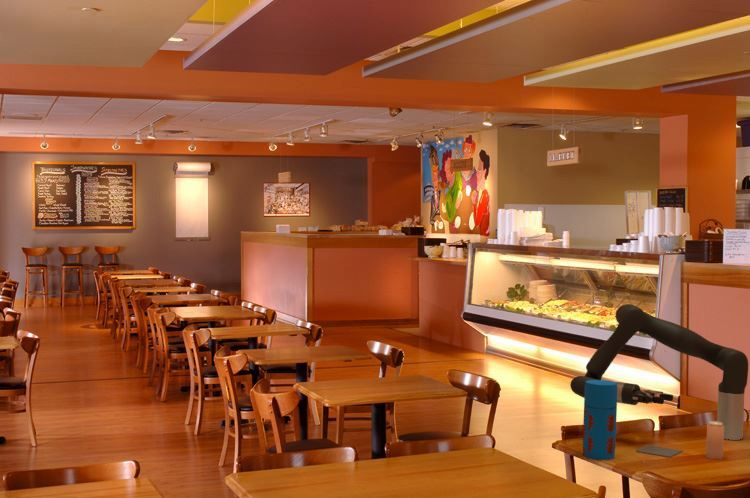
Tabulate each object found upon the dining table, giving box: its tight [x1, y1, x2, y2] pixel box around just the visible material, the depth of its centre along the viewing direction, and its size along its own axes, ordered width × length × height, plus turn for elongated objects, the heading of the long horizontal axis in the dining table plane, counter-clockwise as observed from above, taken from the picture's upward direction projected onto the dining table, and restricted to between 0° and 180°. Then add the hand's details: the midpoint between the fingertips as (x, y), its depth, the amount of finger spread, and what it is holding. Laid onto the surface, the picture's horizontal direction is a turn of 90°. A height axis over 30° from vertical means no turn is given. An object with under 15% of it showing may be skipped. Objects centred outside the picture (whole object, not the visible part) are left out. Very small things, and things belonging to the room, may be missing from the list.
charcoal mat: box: [635, 444, 684, 459], centre depth 331 cm, size 12×12×1 cm
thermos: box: [582, 379, 618, 461], centre depth 322 cm, size 11×11×25 cm
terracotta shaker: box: [705, 420, 725, 460], centre depth 325 cm, size 6×6×12 cm
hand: (668, 399), depth 335 cm, fingers open, 8 cm apart
